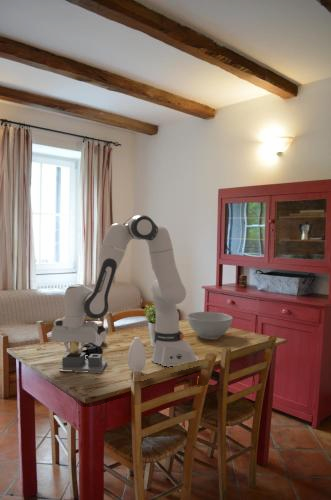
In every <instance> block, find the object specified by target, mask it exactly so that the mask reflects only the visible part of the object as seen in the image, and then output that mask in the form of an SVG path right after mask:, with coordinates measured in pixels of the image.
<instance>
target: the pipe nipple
mask: <svg viewBox="0 0 331 500" xmlns="http://www.w3.org/2000/svg"><path fill="white" fill-rule="evenodd" d="M69 347H70V357H79V352H78V349H79V348H80V343H77V342H76V341H71V342H69Z"/></svg>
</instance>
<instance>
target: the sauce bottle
mask: <svg viewBox="0 0 331 500" xmlns="http://www.w3.org/2000/svg"><path fill="white" fill-rule="evenodd" d="M146 355H147V353H146V349H145V346H144V344H143V342H142V340H141V338H140V337H139V336H138V331H137V332H136V336H135V337H134V338H133V340H132V341H131V344H130V345H129V349H128V352H127V366H128V368H129V370H130V371H131V372H132V371H134V370H140V371H141V372H142V371H144V368H145V365H146V360H147V356H146Z"/></svg>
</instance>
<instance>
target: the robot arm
mask: <svg viewBox="0 0 331 500" xmlns="http://www.w3.org/2000/svg"><path fill="white" fill-rule="evenodd" d="M131 240H144V241H146V244H147V246H148V251H149V258H150V263H151V269H152V271H153V272H154V275H155V278H156V279H154V280H153V281H152V283H151V287H150V290H151V293H152V297H153V305H154V311H155V330H154V332H153V333H154V334H153V335H154V336H153V342H154V347H153V351H152V352H153V354H152V356H151V362H152V361H153V362H152V363H154V364H156V363H158V364H157V365H160V364H161V365H160V366H162V365H163V366H162V367H164V366H167V368H168V367H169V368H171V367H170V366H174V365H178V364H182V363H186V362H190V361H196V360H199V361H200V359H199V357H198V356H197V355H195V350H194V348H193V345H192V344H190V343H188V342H187V341H186V340H185V339H184V337H185V335H184V332H183V331H180V330H179V329H180V313H179V310H178V308H177V305H178V304H181V303H183V301H184V300H185V299H186V296H187V290H186V287H185V286H184V284H183V282H182V279H181V277H180V273H179V271H178V269H177V264H176V261H175V254H174V248H173V243H172V240H171V235H170V234H169V231H168V229H167V228H166V227H164V226H157V224H156V223H155V222H154V220H153V219H152V218H151V217H149V215H148V216H147V215H143V214H138V215H133V216H131V217H130V218H128V219H127V220H126V221H124V223H123V224H122V223H113V224H111V225H110V226H109V228H108V229H107V231H106V233H105V235H104V238H103V240H102V244H101V245H100V249H99V255H98V262H99V263H98V264H99V272H98V277H97V280H96V283H95V286H94V289H91V288H89V287H87V286H85V285H84V284H80V283H79V284H78V283H77V284H73V285H69V286H68V287H66V289H65V294H64V308H65V309H64V314H63V315H64V316H63V317H60V318H57V319H55V320H54V321H53V327H52V329H51V334H50V340H51V342H53V343H63V345H64V347H65V348H66V353H68V352H70V345H69V343H70V342H71V341H76V342H77V343H79V344H80V347H79V349H78V352H80V353H82V350H84V349H83V346H84V345H85V344H87V343H95V342H96V341H97V339H98V336H97V330H98V325H97V324H96V323H95V322H92V321H87V320H86V316H87V317H88V318H90V319H92V320H98V319H101V318H104V317H105V315H106V314H107V313H108V310H109V299H108V298H109V297H108V296H109V293H110V290H111V287H112V283H113V280H114V277H115V275H116V273H117V270H118V269H119V266H120V265H121V263H122V261H123V259H124V256H125V254H126V250H127V248H128V245H129V244H130V242H131ZM81 345H82V346H81Z"/></svg>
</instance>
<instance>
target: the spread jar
mask: <svg viewBox="0 0 331 500" xmlns="http://www.w3.org/2000/svg"><path fill="white" fill-rule="evenodd" d="M91 322H95V323H96V324H97V325H98V330H97V336H98V339H97V341H96V342H95V344H96V345H98V346H100V347H101V346H102V345H103V344H102V343H105V342H106V338H107V337H106V335H107V332H106V328H105V327H104V326H103V321H101V320H94V321H91Z"/></svg>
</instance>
